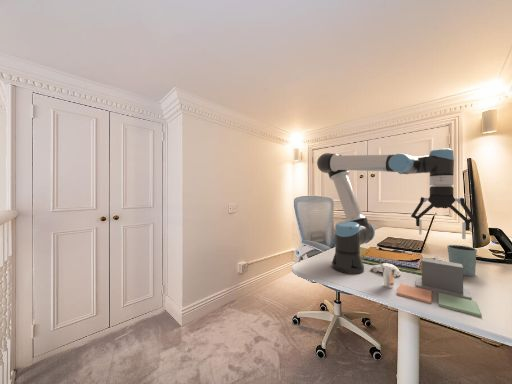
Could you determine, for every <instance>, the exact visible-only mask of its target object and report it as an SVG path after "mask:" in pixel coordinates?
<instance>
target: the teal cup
mask: <svg viewBox="0 0 512 384" xmlns="http://www.w3.org/2000/svg"><path fill="white" fill-rule="evenodd" d="M446 248H447V253H448V262H452V263H459V264H462V266H463V276H468V277H469V276H471V277H472V276H473V277H474V276H475V275H476V266H477V264H476V263H477V252H478V251H477V248H476V247H471V246H466V245H457V244H448V245H447V247H446Z"/></svg>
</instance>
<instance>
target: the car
mask: <svg viewBox="0 0 512 384" xmlns="http://www.w3.org/2000/svg"><path fill="white" fill-rule="evenodd" d="M381 264H382V265H384V264H391V263H387V262H385V263H384V262H383V263H381ZM381 264H375V265H373V266H371V268H370V270H372V272H374V273H378V272H380V273H383V270H382V265H381ZM391 265H393V266H394V267H395V274H394V278H396V277H399V276H400V275H401V274H402V271H400V270H399V268H398V267H397V266H396V265H394V264H391Z"/></svg>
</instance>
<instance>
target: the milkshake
mask: <svg viewBox="0 0 512 384" xmlns="http://www.w3.org/2000/svg"><path fill="white" fill-rule="evenodd" d="M379 263H380V265H382V264H383V263H382V262H381V261H379ZM393 265H394V264H392V265H391V263H389V264H384V265H382V270H383V272H382V276H383V286H384V287H385V288H388V289H392V288H394V285H395V284H394V283H395V277H394V274H395V267H394V266H395V265H394V266H393Z"/></svg>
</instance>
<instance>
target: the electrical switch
mask: <svg viewBox="0 0 512 384" xmlns="http://www.w3.org/2000/svg"><path fill="white" fill-rule="evenodd" d="M429 259H434V260H440V259H439V257H438V256H437V255H435V256H434V257H432V258H431V257H430V258H429Z"/></svg>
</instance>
